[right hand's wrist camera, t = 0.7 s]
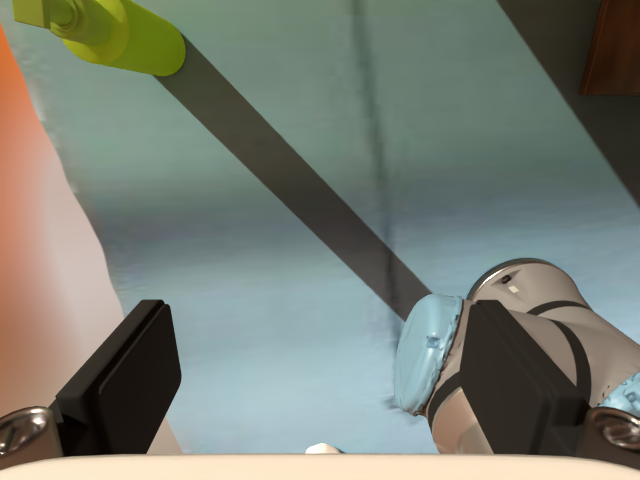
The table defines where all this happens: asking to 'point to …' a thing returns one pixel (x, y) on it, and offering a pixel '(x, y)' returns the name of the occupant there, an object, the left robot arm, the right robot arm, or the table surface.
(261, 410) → the table surface
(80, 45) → the soap dispenser
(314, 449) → the skull bowl
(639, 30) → the wooden box
